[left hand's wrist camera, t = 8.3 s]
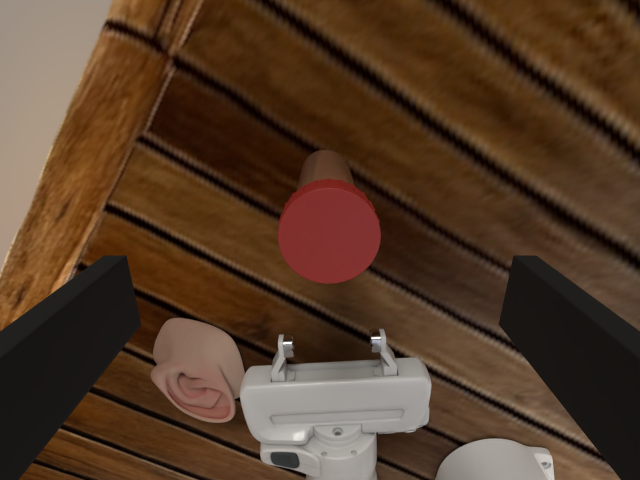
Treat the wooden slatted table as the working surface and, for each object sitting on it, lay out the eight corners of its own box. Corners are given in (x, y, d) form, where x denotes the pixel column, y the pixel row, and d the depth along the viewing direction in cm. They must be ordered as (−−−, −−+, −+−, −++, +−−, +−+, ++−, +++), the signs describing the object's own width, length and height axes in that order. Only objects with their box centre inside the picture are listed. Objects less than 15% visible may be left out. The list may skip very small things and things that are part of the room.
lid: (290, 273, 24) (287, 290, 22) (272, 185, 22) (267, 195, 20) (379, 261, 24) (385, 277, 21) (371, 171, 21) (376, 179, 19)
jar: (304, 201, 39) (293, 279, 22) (296, 153, 37) (278, 200, 20) (351, 194, 38) (376, 268, 22) (346, 146, 36) (368, 187, 20)
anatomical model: (131, 336, 40) (236, 339, 40) (147, 316, 44) (243, 319, 44) (147, 425, 45) (240, 428, 45) (161, 400, 48) (247, 403, 49)
